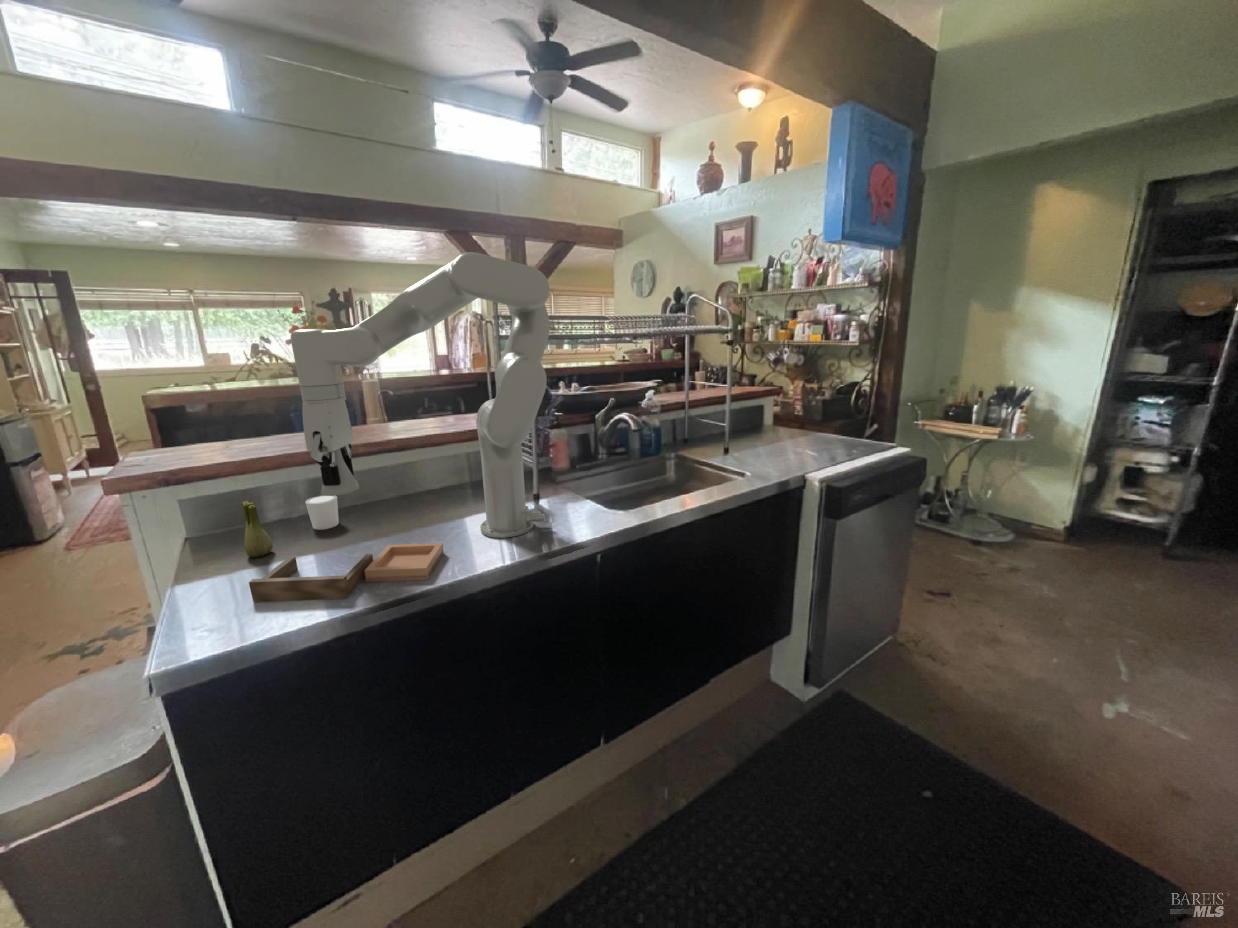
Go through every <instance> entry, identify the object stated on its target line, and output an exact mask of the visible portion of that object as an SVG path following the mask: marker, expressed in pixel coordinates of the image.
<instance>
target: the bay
mask: <svg viewBox="0 0 1238 928" xmlns="http://www.w3.org/2000/svg"><path fill="white" fill-rule="evenodd" d="M373 561H374V557H373V553H366V554H365V555H363V557H362V558H361V559H360V560H359V561H358V562H357V563H356V564H355V565H354V566H353V567H352V569H350V570H349V571H348V572H347V574H346V575H345V574H344V575H323V576H318V575H317V576H300V577H299V576H297V577H293V575H294V574H296V572H298V571H299V570H298V569H299V568H298V563H297V558H296V556H289V557H287V558H286V559H284V560H283V561H282V562H281V563H280V564H278V565H276V566H275V567H274V568H273V569H272V570H271V571H269V572H268V573H266V574H265V575H264V576H263V577H261V578H252V579H251V580H250V581H248V584H249V585H248V586H249V589H250V593H251V598H252V602H253V603H265V602H287V601H288V602H289V601H290V602H291V601H292V602H294V601H313V600H314V601H315V600H317V601H318V600H338V599H339V600H341V599H348V598H349V597H350V596H351V594H353V593H354V591H355V590H356V589H357V588H358V586H360V584H361V583H362V582H363V581H364V580H365V579H366V577H365V571H364V570H365V569H366V568H367V567H368V566H369V565H370V564H371V563H372V562H373Z"/></svg>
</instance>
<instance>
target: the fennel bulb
mask: <svg viewBox="0 0 1238 928" xmlns="http://www.w3.org/2000/svg"><path fill="white" fill-rule="evenodd" d="M241 506H242V509H243V513H244V519H245V532H244V548H245V551H246V555H247V556H249V557H250V558H260V557H263V556H266V555H268V554H269V553H270V552H271V551H272V549H273V548H274V547H273V546H274V545H273V543H274V542H273V540H272V538H271V537H270V536H269V534H268V533H267V531H265V529H263V528H262V525H261V523H260V519H259V516H258V515H259V513H258V511H257V506H256V505H255V503H254V502H249V501H243V502H242V503H241Z"/></svg>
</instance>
